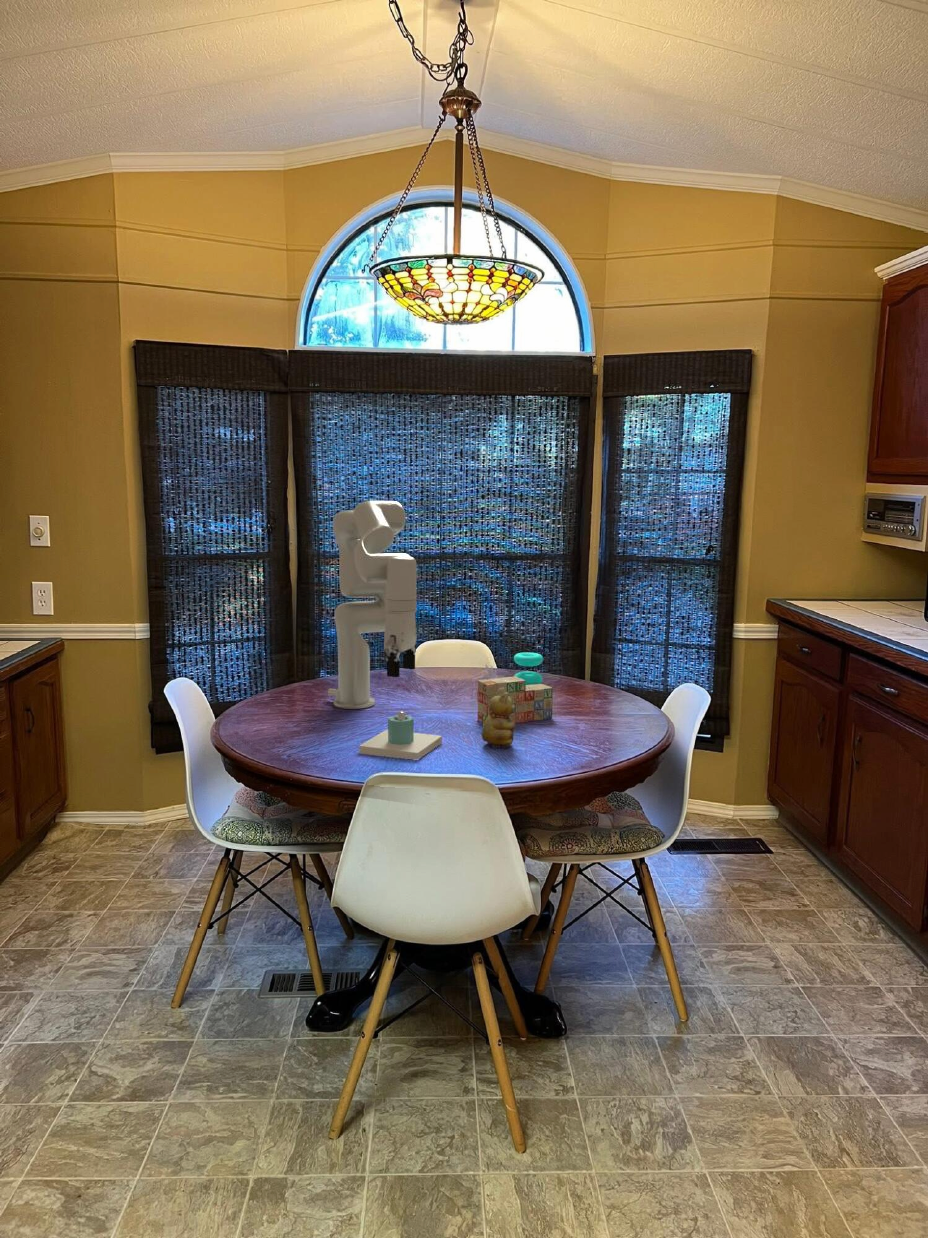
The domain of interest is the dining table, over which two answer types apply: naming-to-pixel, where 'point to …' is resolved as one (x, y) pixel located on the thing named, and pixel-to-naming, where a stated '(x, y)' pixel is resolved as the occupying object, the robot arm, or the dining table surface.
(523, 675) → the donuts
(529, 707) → the stack of blocks
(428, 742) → the board
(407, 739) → the bead
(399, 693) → the dining table surface
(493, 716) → the decorative figurine
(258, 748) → the dining table surface
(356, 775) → the dining table surface
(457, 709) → the dining table surface
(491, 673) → the water lily
